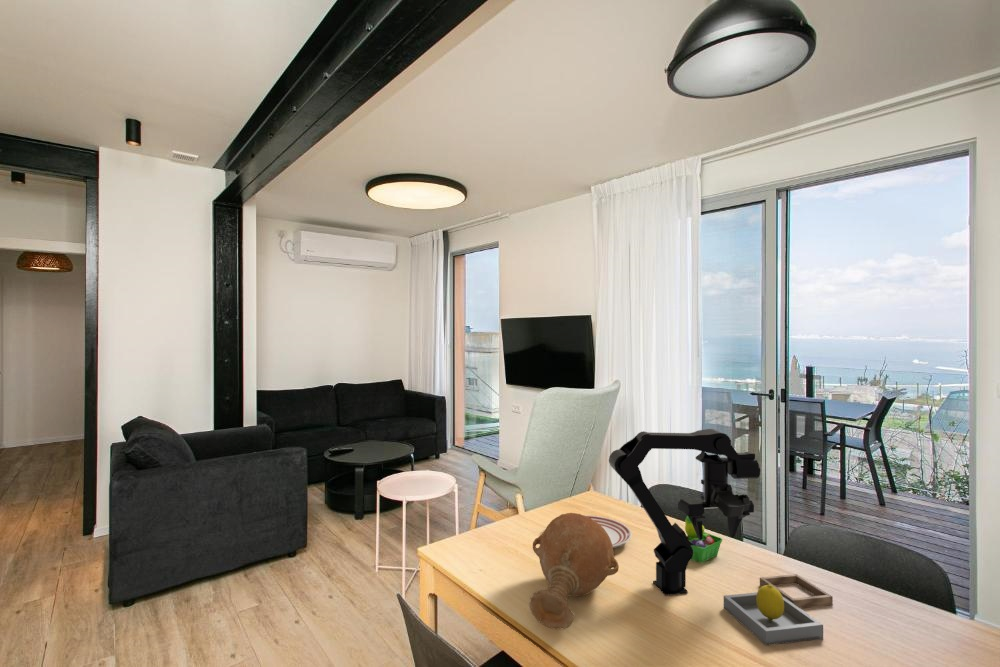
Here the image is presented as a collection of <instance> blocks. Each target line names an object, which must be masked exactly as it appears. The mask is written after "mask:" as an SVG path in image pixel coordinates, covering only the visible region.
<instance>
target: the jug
mask: <svg viewBox="0 0 1000 667" xmlns="http://www.w3.org/2000/svg"><path fill="white" fill-rule="evenodd" d="M584 515H585V514H581V513H575V512H566V513H561V514H559V516H556V517H555V518H553V519H552V520H551V521H550V522H549V523H550V524H549V523H548V524H549V525H548V524H547V526H546V527H545V529H544V532H543V533H542V534H541V535H539V536H538V537H536V538H535V539H534V540H533V541H532V552H534V554H536V556H537V557H538V559H539V563H540V567H541V571H542V573H543V576H544V578H545V579H546V581H547V583H548V584H549V587H548V588H547V589H546V590H537V591H536V592H534V593H533V594H532V596H531V597H530V599H529V604H528V606H529V610H530V612H531V614H532V615H533V617H534V618H535V619H536V620H537V621H538V622H539V623H541V624H542V625H543V626H545V627H548V628H551V629H554V630H561V629H563V630H564V629H568V628H569V627H570V626H571V625H572V623H573V620H574V619H575V617H576V616H575V613H574V612H573V611H572V609H571V607H570V605H569V603H568V602H567V601H568V598H569V597H580V596H582V597H583V596H585V595H588V594H590V593H591V592H593V591H594V590H596V589H597V588H599V587H600V585H601V584H602V583H603V582H605V579H606V578H607V577H608V576H613V575H615V574H616V573H618V572H619V563H618V560H617V559H616V558H615V556H614V548H613V546H612V542H611V540H610V537H609V535H608V534H607V532H606V531H605V529H604V528H603V527H602V526H601V525H600V524H598V523H597V522H596V521H594V520H593V519H591V518H589V517H587V516H584ZM537 545H539V546H538V547H537Z"/></svg>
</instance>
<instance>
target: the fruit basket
mask: <svg viewBox="0 0 1000 667" xmlns="http://www.w3.org/2000/svg"><path fill="white" fill-rule="evenodd" d="M684 521H685V526H684V532H685V534H686V536H687V538H688V540H689V541H690V542H691V543H692V544H693V545H691V547H692V549H693V552H694V553H693V556H692V558H691V560H692V561H696V562H697V563H699V564H702V563H705V562H706V561H708V560H711V559H712V558H714V557H716V556H718V554H719V551H720V547H721V544H722V542H723V539H722V538H721V537H720V536H719V537H718V536H716V535H714V534H710V533H709V532H708V533H707V532H705V530H706V529H705V526H704V525H703V524H702V527H703V536H702V540H700V539H698V536H697V534H696V532H695V529H694V527H693V525H692V523H691V521H690V519H689V517H688V515H687V516H686V517H685V520H684Z"/></svg>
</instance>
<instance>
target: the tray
mask: <svg viewBox="0 0 1000 667" xmlns="http://www.w3.org/2000/svg"><path fill="white" fill-rule="evenodd" d="M757 593H758V591H756V592H747V593H737V594H729V595H727V594H726V595H723V610H725V611H726V612H727V613H728V614H730V615H731V616H732V617H733V618H734V619H736V620H737V622H739V623H740V624H741V625H742V626H743V627H745V629H747V630H748V631H749V632H750V633H752V634H753V635H754V636H755V637H756V638H757V639H758V640H759V641H760V642H762V643H763V644H764V645H765V646H773V645H781V644H790V643H798V642H806V641H814V640H815V641H816V640H823V639H824V624H823V623H821V622H820V621H818V620H817V619H815V618H814V617H813V616H811V615H810V614H809V613H808V612H806V611H805V610H803V608H799V607H797V606H796V605H794V604H793V603H792V602H790V601H789V600H787V599H786V598H784V597H783V596H782V597H783V601H784V612H783V614H782V616H781V617H780V618H778V619H773V620H769V619H768V618H767V617H765V616H764V615H763V614H762V613H761V612H760V611H759V609H758V606H757V601H756V597H757Z"/></svg>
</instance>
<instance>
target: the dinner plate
mask: <svg viewBox="0 0 1000 667" xmlns="http://www.w3.org/2000/svg"><path fill="white" fill-rule="evenodd" d="M583 515H584V516H587V517H589V518H591V519H593V520H594V521H596V522H597V523H598V524H600V525H601V526H602V527H603V528H604V529H605V531H606V532H607V534H608V535H609V537H610V540H611V542H612V546H613V549H615V548H618V547H621V546H623V545H625V544H626V543H628V542H629V541H630V539H631V538H632V534H633V533H632V531H631V529H630V528H629V527H628V526H627V525H625V524H624V523H622V522H621V521H617V520H615V519H612V518H609V517H604V516H600V515H599V516H597V515H585V514H583ZM549 524H550V522H549V523H548V524H547V526H548V525H549Z"/></svg>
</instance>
